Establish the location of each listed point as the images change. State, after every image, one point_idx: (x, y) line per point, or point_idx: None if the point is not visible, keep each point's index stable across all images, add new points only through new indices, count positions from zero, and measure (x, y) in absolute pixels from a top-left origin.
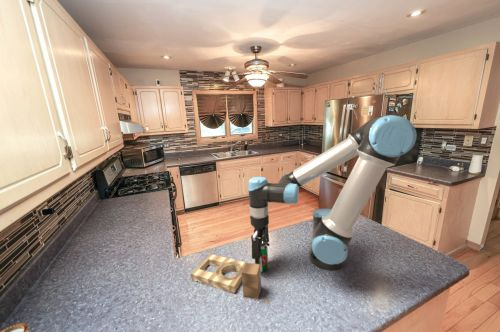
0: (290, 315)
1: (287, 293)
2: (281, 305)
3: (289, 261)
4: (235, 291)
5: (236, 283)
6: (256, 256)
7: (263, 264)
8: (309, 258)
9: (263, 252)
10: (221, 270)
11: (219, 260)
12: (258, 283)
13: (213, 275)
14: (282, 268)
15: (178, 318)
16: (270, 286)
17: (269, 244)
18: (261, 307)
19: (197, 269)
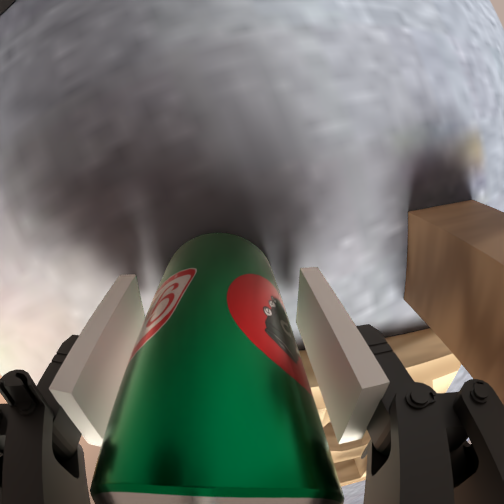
0: (484, 35)
1: (395, 28)
2: (468, 68)
3: (41, 101)
4: None
5: (449, 351)
6: (498, 422)
7: (274, 290)
8: (3, 10)
9: (309, 426)
10: (360, 444)
11: None
12: None
13: None
14: (137, 111)
15: None
16: (385, 147)
17: (4, 376)
18: (497, 169)
19: (363, 478)
